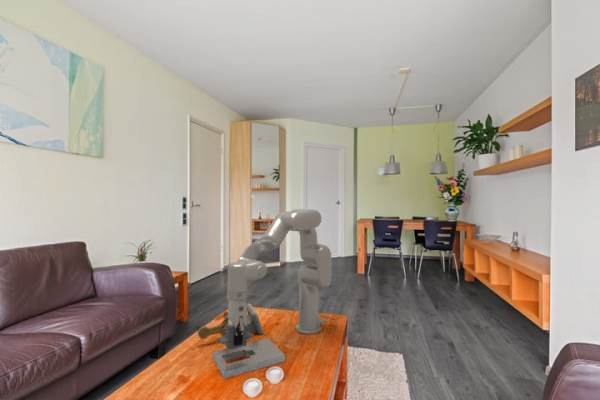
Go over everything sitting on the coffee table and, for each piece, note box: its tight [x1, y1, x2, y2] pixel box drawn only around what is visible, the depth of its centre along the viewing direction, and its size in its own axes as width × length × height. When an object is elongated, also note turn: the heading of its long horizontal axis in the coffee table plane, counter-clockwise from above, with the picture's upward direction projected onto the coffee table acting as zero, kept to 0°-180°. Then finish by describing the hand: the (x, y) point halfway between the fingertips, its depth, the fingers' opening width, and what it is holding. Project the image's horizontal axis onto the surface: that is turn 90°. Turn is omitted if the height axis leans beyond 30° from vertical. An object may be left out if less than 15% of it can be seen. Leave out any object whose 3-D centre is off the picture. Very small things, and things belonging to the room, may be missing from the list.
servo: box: [218, 320, 253, 350], centre depth 114 cm, size 12×4×10 cm, turn 120°
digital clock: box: [246, 302, 264, 335], centre depth 145 cm, size 16×9×11 cm, turn 11°
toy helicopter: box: [197, 310, 229, 340], centre depth 131 cm, size 8×21×14 cm, turn 122°
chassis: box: [212, 338, 286, 380], centre depth 117 cm, size 24×16×2 cm, turn 120°
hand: (235, 341), depth 114 cm, fingers closed on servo, 4 cm apart
